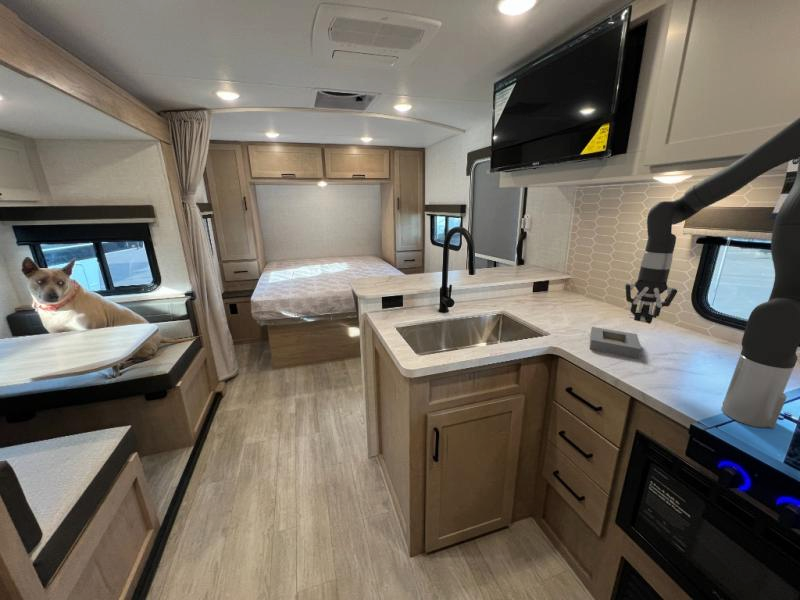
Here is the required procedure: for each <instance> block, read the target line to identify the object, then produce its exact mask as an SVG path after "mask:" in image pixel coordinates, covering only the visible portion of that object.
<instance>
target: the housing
mask: <svg viewBox="0 0 800 600" xmlns="http://www.w3.org/2000/svg"><path fill="white" fill-rule="evenodd" d="M589 350H593V351H598V352H602V353H608V354H613V355H617V356H623V357H628V358H633V359H638V360H639V359H640V356H641V353H642V347H641V343H640V340H639V337H638V334H637V333H633V332H628V331H627V332H625V331H622V330H621V331H620V330H615V329H614V330H613V329H608V328H601V327H595V326H591V329H590V334H589Z"/></svg>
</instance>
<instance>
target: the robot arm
mask: <svg viewBox="0 0 800 600" xmlns="http://www.w3.org/2000/svg"><path fill="white" fill-rule="evenodd" d="M796 159H798V163H797V171H796V177H795V180H794V183H793V185H792V187H791V189H790V191H789V192H788V194H787V196H786V198H785V199H784V200H783V202H782V205H781V206H780V208H779V210H778V213H777V215H776V216H775V217H776V218H775V220H774V223H773V224H774V225H773V229H772V232H771V233H772V234H771V239H770V251H771V258H772V265H773V268H774V281H773V285H772V290H771V293H770V295H769V298H768V301H765V302H762V303H760V304H758V305H757V306H755V307H754V309H752V311H751V313H750V314H749V316H748V319H747V322H746V326H745V328H744V332H743V336H742V339H741V347H742V348H741V351H740V354H739V357H738V360H737V363H736V364H735V365H736V366H735V369H734V371H733V374H732V377H731V381H730V383H729V385H728V388H727V391H726V394H725V397H724V399H723V402H722V405H721V408H720V409H721V411H722V413H723V414H725V415H726V416H727V417H729V418H730V419H733V420H734V421H737V422H739V423H742V424H745V425H747V426H751V427H756V428H771V429H775V426H776V424H777V422H778V419H779V417H780V414H781V412H782V410H783V407H784V405H785V403H786V401H787V398H788V396H787V395H786V394H785V393H784V392H785V390H786V387H787V385H788V383H789V380H790V378H791V375H792V373H793V370H794V368H795V366H796V364H797V362H798V355H797V350H798V348H799V345H800V117H798V118H797V119H795V120H794V121H792V122H790V124H787V126H786V127H784V128H783V129H781V130H780V131H779V132H777V133H776V134H774V135H772V136H771V137H770V138H769V139H767V140H766V141H764V142H763V143H761V144H760V145H758V146H757V147H756V148H754V149H753V150H751V151H749V153H746V154H745V155H743V156H742V157H741V158H739V159H737V160H736V161H734V162H733V163H731V164H730V165H728V166H725V167H724V168H723V169H720V170H719V171H717V172H715V173H714V174H712V175H710V176H708V177H707V178H705V179H703V180H701V181H699V182H697V183H695V184H694V185H692V186H690V187H689V188H688V189H687V190H686V191H685V192H684V193H683V196H681V197H679V198H677V199H676V200H673V201H671V200H670V201H669V200H667V201H663V200H662V201H659V202H656V203H654V205H652V207H651V208H650V210H649V211H648V215H647V220H646V226H647V230H646V231H647V242H646V247H645V251H644V253H643V256H642V260H641V262H640V268H639V272H638V277H637V281H636V282H634V283H625V285H624V286H625V297H626V301H627V302H628V303H631V306H630V314H632V315H635V313H636V312H637V308H638V303H640V301H641V300H640V299H641V298H642V297H641V296H644V294H645V293H648V294H655V298H657V299H656V302H655V305H654V306H653V310H652V315H653V319H656V318H657V317H659V316H660V313H661V309H662V308H663V307H664V308H665V307H669V306H670V305H671V304H672V302H673V300H674V299H675V297H676V296H677V294H678V290H677V288H676V287H670V286H668V284H667V283H668V280H669V279H668V278H669V274H670V271H671V267H672V263H673V255H674V251H675V247H676V243H677V242H676V241H677V236H676V235H675V234H673V232H672V228H673V227H672V226H673V225H677V224H680V223H683V222H685V221H686V220H688V219H690V218H692V217H693V216H694V215H696V214H698V213H699V212H701V211H702V210H703V209H704V208H707V207H710V206H712V205H713V204H715V203H718V202H719V201H721V200H724V199H725V198H727V197H729V196H731V195H733V194H734V193H736V192H738V191H740V190H741V189H743V188H744V187H745V186H746V185H748V184H749V183H751V182H753V181H754V180H756V179H757V178H759V177H760V176H762V175H764V174H765V173H767V172H769V171H771V170H772V169H774V168H777V167H779V166H781V165H784V164H786V163H788V162H790V161H794V160H796ZM634 288H636V290H637V293H636V294H635V296H634V297H633V298H632V293H631V291H633V290H634ZM665 291H666V293H667V296H666V297H665V299H664V300H663V301H662V299H661V294H662V293H664V292H665ZM632 315H631V316H632Z"/></svg>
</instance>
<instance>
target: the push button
mask: <svg viewBox="0 0 800 600" xmlns="http://www.w3.org/2000/svg"><path fill="white" fill-rule="evenodd" d="M641 297H642V298H641V299H640V300H639V306H638V307H639V308H638V310H637V309H636V313H635V315H632V313H630V314H629V315H628V316H629V318H630V319H633V320H634V321H635V322H641V323H646V324H648V325H650V324H652V322H653V320H654V318H653V310H654V306H655V305H654V304H655V303H656V299H657V298H655V294H648V293H645V294H644V296H641ZM633 316H634V317H633Z"/></svg>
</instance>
